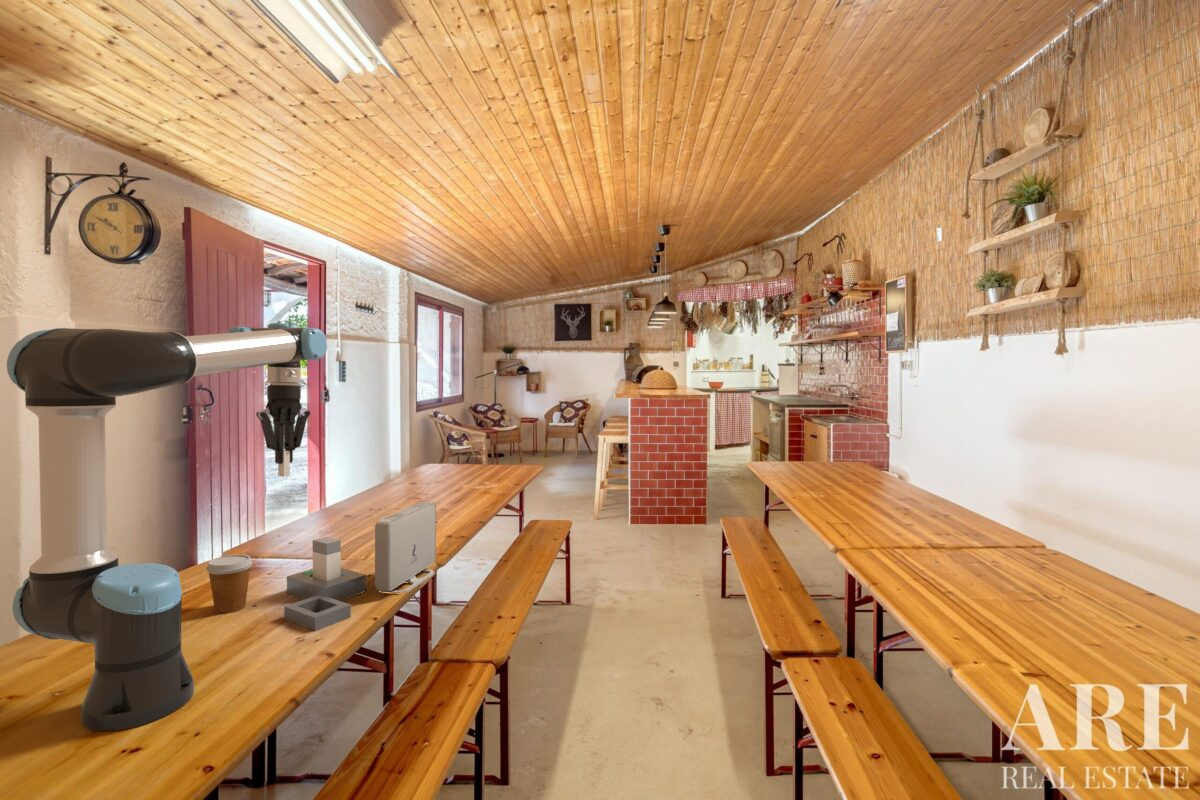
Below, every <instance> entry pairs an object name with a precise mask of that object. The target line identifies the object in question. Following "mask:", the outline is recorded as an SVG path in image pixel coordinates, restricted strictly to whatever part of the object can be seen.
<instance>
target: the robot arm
mask: <svg viewBox="0 0 1200 800" xmlns="http://www.w3.org/2000/svg"><path fill="white" fill-rule="evenodd" d="M327 350H328V339H327V336H326V334H325V333H324V331H323V330H321V329H319V328H317V327H300V326H299V325H297V324H293V323H283V322H281V323H280V322H272V323H269V324H268V325H267V327H249V326H233V327H230V328H229V329H228V330H227V331H226V332H225V333H215V334H214V333H212V334H210V333H209V334H199V335H186V336H185V335H183V334H181V333H180V332H177V331H176V332H175V331H165V332H160V331H159V332H156V331H155V332H153V331H138V330H129V329H119V328H117V329H116V328H66V327H62V328H60V327H59V328H57V327H55V328H52V329H44V330H43V329H41V330H38V331H34V332H31V333H29V334H27V335H25V336H24V337H22V338H21V339H19V340H18V341H17V342H16V343H14V345H13V346H12V348H11V350H10V351H9V353H8V357H7V360H6V372H7V373H8V374H7V375H8V376H9V377H8V378H9V379H10V381H11V382H12V383H13V384H15V385H16V386H17V387H18V389H20V390H21V391H23V392H25V393H24V394H25V395H24V398H25V401H24V402H25V408H26V409H27V410H28V411H30V412H32V413H33V414H34V415H35V416H36V417H37V418H38V454H39V456H38V457H39V458H38V460H39V461H38V462H39V465H38V466H39V467H38V468H39V503H40V506H39V509H40V552H41V553H40V554H41V555H40V557H39V558H38V559H37V560H36V561H34V562H33V563H32V564H30V566H29V569H28V574H29V576H27V578H26V579H24V580H23V581H22V586H20V587H19V588H18V589H17V590H16V592H15V594H14V597H13V599H12V614H13V617H14V620H15V622H16V623H17V624H18V626H19V627H20V628H22V629H23V630H24V631H25V632H28V633H30V634H32V635H36V636H39V637H42V638H45V639H48V640H65V641H70V642H71V641H72V642H77V643H83V644H85V643H86V644H92V645H94V646H93V647H94V673H93V676H92V677H91V681H90V683H89V685H88V689H87V691H86V694H85V696H84V700H83V702H82V704H81V709H80V712H81V714H80V716H81V719H80V721H81V725H82V726H83V727H84V728H86V729H88V730H91V731H96V732H98V731H101V732H107V731H108V732H109V731H112V732H113V731H119V730H126V729H130V728H134V727H137V726H139V727H140V726H142V725H145V724H149V723H151V722H154V721H156V720H159V719H161V718H164V717H167V716H168V715H170V714H172V713H174V712H175V711H177V710H178V709H180V708H182V707H183V706H185V704H187V703H188V702H189V701H190V699H191V700H192V697H193V695H194V694H195V693H194V692H195V684H194V683H195V682H194V676H193V674H192V672H191V670H190V668H189V666H188V663H187V661H186V659H185V656H184V655H183V651H182V610H183V609H182V599H183V598H182V596H183V589H182V587H181V579H180V574H179V573H178V571H177V570H176V569H175V568H173V567H171V566H169V565H165V564H160V563H156V562H155V563H154V562H146V563H139V562H138V563H137V562H135V563H129V564H122V565H119V554H118V553H117V552H116V551H114V550H113V549H111V548H110V547H108V525H107V524H108V523H107V522H108V519H107V513H108V511H107V509H108V508H107V469H106V468H107V467H106V465H107V462H106V460H107V459H106V458H107V457H106V415H107V414H108V413H109V412H110V411H111V410H112V409H114V408H115V407H116V405H117V401H116V400H117V399H116V397H123V396H129V395H134V394H139V393H145V392H148V391H152V390H153V391H154V390H157V389H163V388H168V387H172V386H177V385H182V384H183V385H184V384H186V383H188V382H190V381H191V380H192V379H193V378H194V377H198V376H204V375H211V374H217V373H218V374H219V373H224V372H231V371H236V370H237V371H238V370H244V369H248V368H255V367H261V366H263V367H264V366H267V370H266V371H267V372H266V373H267V375H266V378H267V383H268V384H269V385H267V386H266V388H267V393H266V396H267V403H266V405H265V408H264V409H263V410H260V411H257V412H256V414H255V415H256V417H257V418H258V420H259V421H260V425H261V428H262V433H263V437H264V440H265V445H266V448H267V449H270V450H273V451H274V459H275V460H274V462H275V464H276V465H277V470H278V471H277V475H278V477H282V478H283V477H284V478H287V477H290V474H291V471H290V470H291V467H290V466H291V465H290V464H291V463H293V459H294V451H295V450H296V449H297V448H300V447H301V446H302V445H301V444H302V440H303V437H304V432H305V428H306V424H307V420H308V418H309V416H310V415H311V411H309V410H306V409H304V408H303V406H302V404H301V396H302V393H301V392H302V391H301V389H302V388H301V385H299V384H300V383H301V379H302V378H301V373H302V372H301V369H302V367H301V361H309V362H310V361H316V360H317V361H318V360H320V359H322V358H323V357H324V356H325V355H326V354H327ZM270 417H272V422H271V419H270ZM296 417H297V419H296ZM272 424H273V426H272Z"/></svg>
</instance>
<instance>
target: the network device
mask: <svg viewBox="0 0 1200 800" xmlns="http://www.w3.org/2000/svg"><path fill="white" fill-rule="evenodd" d="M436 504H437V503H435V502H427V501H425V502H423V501H422V502H418V503H416V504H414V505H412V506H410V507H407V508H405V509H402V510H399V511H398V512H395V513H393V514H390V515H387V516H385V517H382V518H380V519H378V520H377V521H376V523H375V526H374V587H375V590H378V591H381V592H394V593H400V592H403V593H404V594H407V593H409V592H410V591H412V590H413V589H414V588H416V587H418V586H419V585H421V584H423V582H425V581H427V580H428V579H429V578H430V577H432V576H434V574H435V571H434V570H433V569H430V568H428V567H430V566H432V565H433V564H434V563H435V561H436V557H437V555H436V554H437V550H436V549H437V547H436V545H437V537H436V535H437V505H436ZM421 571H424V572H423V573H425V572H426V573H427V574H425V575H424V576H423V577H419V578H417V576H416V575H417V574H419V573H422V572H421ZM403 582H408V583H412V584H410V585H409V586H408V587H405V588H404V589H401V590H395V589H396V588H397V587H399V586H400V585H402V584H404V583H403ZM393 590H394V591H393ZM378 591H377V592H378Z"/></svg>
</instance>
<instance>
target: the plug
mask: <svg viewBox="0 0 1200 800" xmlns="http://www.w3.org/2000/svg"><path fill="white" fill-rule="evenodd" d="M341 542H342V541H341V539H337V538H333V537H329V536H324V537H320V538H316V539H313V540H312V569H313V578H316V579H320V580H323V581H329V580H332V579H335V578H338V577H341V568H342V566H341V565H342V563H341V560H342V559H341V555H342V554H341V552H342V551H341V548H342V547H341V546H342V545H341Z"/></svg>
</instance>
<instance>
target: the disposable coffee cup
mask: <svg viewBox="0 0 1200 800" xmlns="http://www.w3.org/2000/svg"><path fill="white" fill-rule="evenodd" d="M252 565H253V560H252V557H251V555H248V554H242V553H241V554H239V553H237V554H229V555H221V556H219V557H216V558H215V557H214V558H213V559H211V560H209V561H208V565H207V566H206V567H205V568H206V571H207V573H208V575H209V582H210V587H211V588H210V589H211V595H212V602H213V607H214V612H215V613H217V614H218V613H219V614H227V613H228V614H229V612H230V613H235V612H238V611H240V610H242V609H244V608H246V602H247V597H248V596H247V595H248V589H249V588H248V586H249V580H250V573H251V567H252ZM234 611H235V612H234Z"/></svg>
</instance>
